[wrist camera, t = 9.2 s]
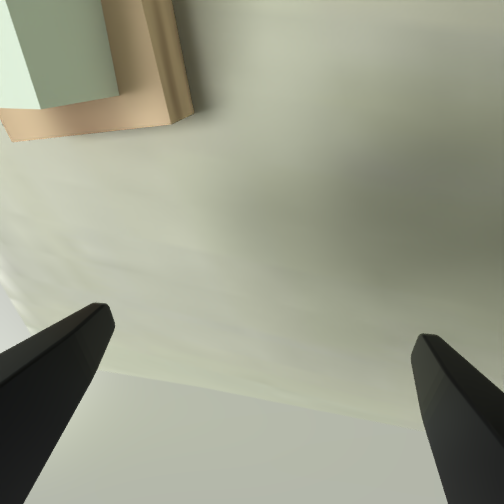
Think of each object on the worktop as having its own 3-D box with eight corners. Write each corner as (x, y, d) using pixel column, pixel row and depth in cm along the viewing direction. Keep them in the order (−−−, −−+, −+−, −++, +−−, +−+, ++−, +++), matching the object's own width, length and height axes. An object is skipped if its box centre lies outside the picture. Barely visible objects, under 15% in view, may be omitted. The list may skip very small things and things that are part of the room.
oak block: (151, -114, 13) (99, -175, 10) (196, 112, 18) (171, 124, 14) (-20, -68, 15) (-114, -107, 11) (62, 128, 19) (12, 142, 16)
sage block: (89, -55, 11) (-36, -125, 7) (119, 95, 14) (41, 109, 10) (-30, -52, 12) (-211, -114, 8) (21, 92, 15) (-94, 104, 10)
